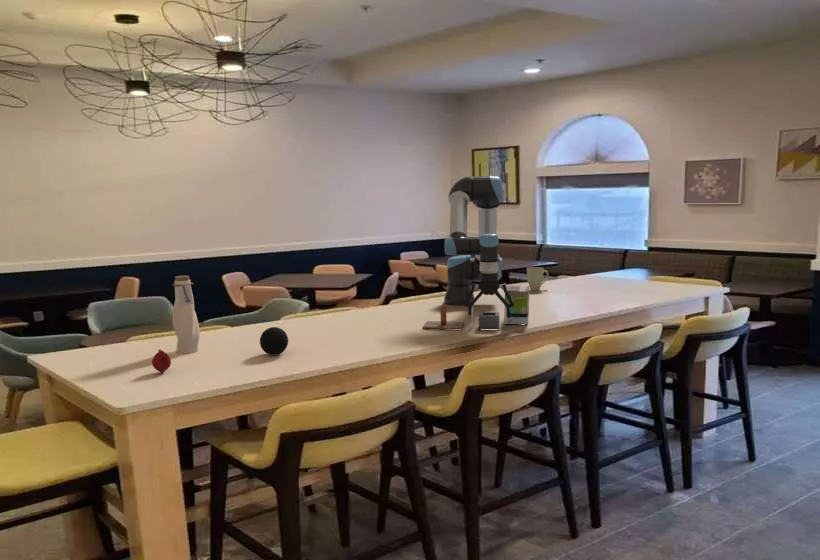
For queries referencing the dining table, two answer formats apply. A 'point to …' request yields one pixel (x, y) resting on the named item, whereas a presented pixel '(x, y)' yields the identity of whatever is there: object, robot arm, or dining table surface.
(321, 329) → the dining table surface
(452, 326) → the keeper
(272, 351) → the speaker
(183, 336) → the water bottle
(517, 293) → the tea box
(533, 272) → the mug
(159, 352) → the onion
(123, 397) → the dining table surface
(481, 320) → the grey square hollow block
